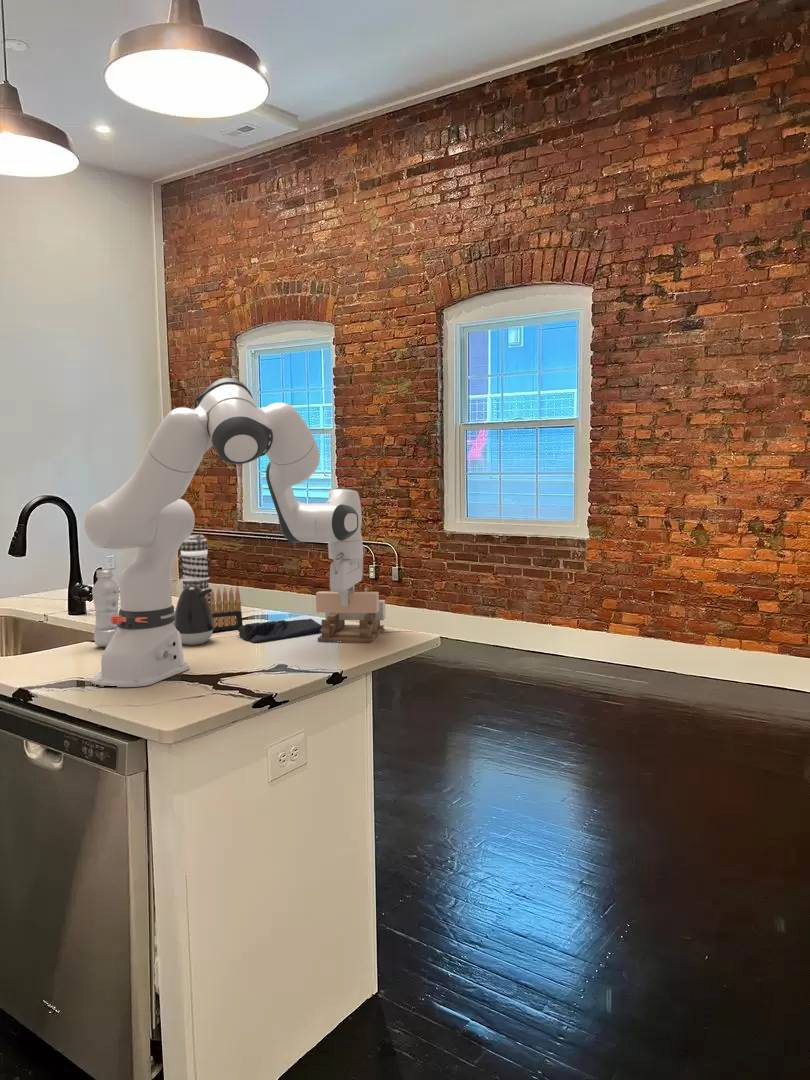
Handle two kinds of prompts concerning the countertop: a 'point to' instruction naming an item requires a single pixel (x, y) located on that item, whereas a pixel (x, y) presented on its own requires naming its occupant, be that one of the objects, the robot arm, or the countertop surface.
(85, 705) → the countertop surface
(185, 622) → the pump dispenser
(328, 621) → the walnut drying rack
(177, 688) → the countertop surface
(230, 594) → the ammunition clip
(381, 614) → the cream rectangular bar
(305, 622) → the dark slate chunk
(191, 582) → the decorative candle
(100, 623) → the plastic bottle
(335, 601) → the clay strip
